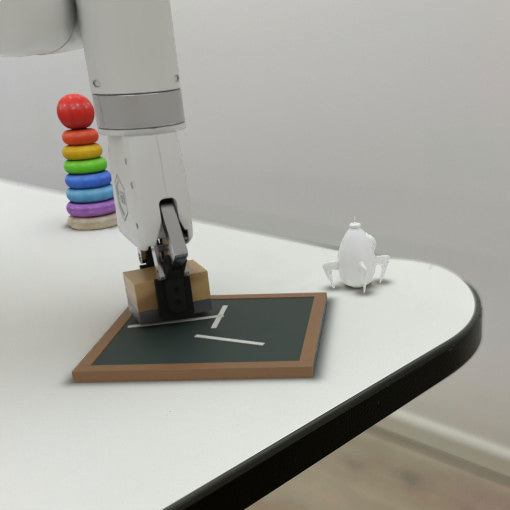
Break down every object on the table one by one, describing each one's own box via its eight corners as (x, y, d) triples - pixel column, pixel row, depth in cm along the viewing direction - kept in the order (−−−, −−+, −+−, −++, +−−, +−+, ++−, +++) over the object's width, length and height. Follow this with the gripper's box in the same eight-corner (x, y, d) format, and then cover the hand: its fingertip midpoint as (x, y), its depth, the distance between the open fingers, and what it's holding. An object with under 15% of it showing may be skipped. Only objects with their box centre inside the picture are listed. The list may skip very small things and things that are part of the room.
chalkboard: (74, 385, 64) (71, 371, 63) (138, 308, 81) (136, 296, 80) (313, 380, 63) (312, 366, 63) (327, 303, 80) (326, 291, 79)
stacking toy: (135, 221, 116) (114, 91, 109) (98, 234, 110) (74, 96, 102) (95, 217, 120) (72, 91, 112) (57, 230, 113) (30, 96, 105)
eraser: (140, 325, 71) (133, 284, 70) (129, 311, 75) (122, 271, 73) (212, 310, 74) (207, 270, 73) (198, 297, 78) (193, 259, 76)
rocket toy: (390, 284, 85) (389, 213, 82) (367, 299, 81) (365, 225, 77) (348, 277, 87) (345, 209, 84) (323, 292, 83) (319, 220, 80)
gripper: (78, 109, 72) (111, 293, 80) (119, 126, 58) (154, 346, 66) (156, 102, 75) (181, 279, 83) (212, 117, 62) (236, 327, 69)
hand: (169, 307), depth 74 cm, fingers closed on eraser, 4 cm apart
